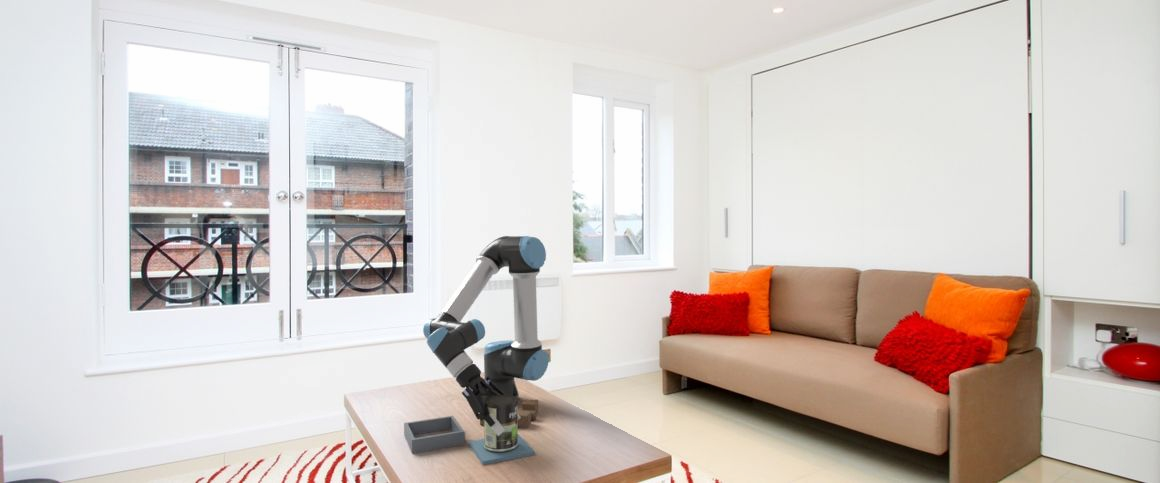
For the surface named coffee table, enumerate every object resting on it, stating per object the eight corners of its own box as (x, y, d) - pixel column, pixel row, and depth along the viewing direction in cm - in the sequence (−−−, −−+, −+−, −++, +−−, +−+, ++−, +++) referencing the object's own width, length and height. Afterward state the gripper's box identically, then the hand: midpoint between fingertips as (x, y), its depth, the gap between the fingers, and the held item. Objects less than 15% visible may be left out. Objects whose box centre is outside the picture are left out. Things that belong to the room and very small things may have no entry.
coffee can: (522, 440, 170) (522, 395, 170) (511, 453, 160) (511, 406, 160) (491, 437, 172) (491, 393, 172) (478, 450, 162) (478, 403, 162)
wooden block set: (530, 413, 184) (479, 410, 186) (530, 429, 184) (479, 427, 186) (540, 397, 200) (493, 395, 203) (541, 412, 201) (493, 410, 203)
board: (517, 436, 177) (517, 433, 177) (535, 454, 162) (535, 451, 162) (468, 444, 170) (468, 441, 170) (482, 464, 155) (482, 461, 155)
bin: (453, 427, 185) (453, 415, 184) (464, 444, 170) (464, 431, 170) (404, 435, 178) (404, 422, 177) (411, 453, 163) (411, 440, 163)
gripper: (475, 369, 181) (518, 421, 177) (436, 388, 160) (483, 448, 155) (489, 354, 179) (533, 407, 175) (451, 372, 158) (500, 432, 153)
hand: (509, 426), depth 165 cm, fingers closed on coffee can, 10 cm apart
